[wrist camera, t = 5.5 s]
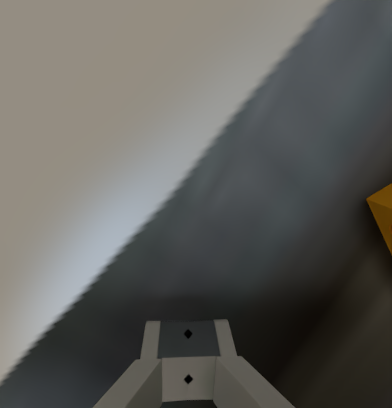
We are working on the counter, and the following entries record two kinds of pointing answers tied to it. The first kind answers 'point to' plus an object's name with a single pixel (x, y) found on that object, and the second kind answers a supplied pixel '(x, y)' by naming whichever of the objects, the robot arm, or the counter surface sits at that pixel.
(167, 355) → the robot arm
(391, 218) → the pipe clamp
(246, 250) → the counter surface
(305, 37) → the counter surface
